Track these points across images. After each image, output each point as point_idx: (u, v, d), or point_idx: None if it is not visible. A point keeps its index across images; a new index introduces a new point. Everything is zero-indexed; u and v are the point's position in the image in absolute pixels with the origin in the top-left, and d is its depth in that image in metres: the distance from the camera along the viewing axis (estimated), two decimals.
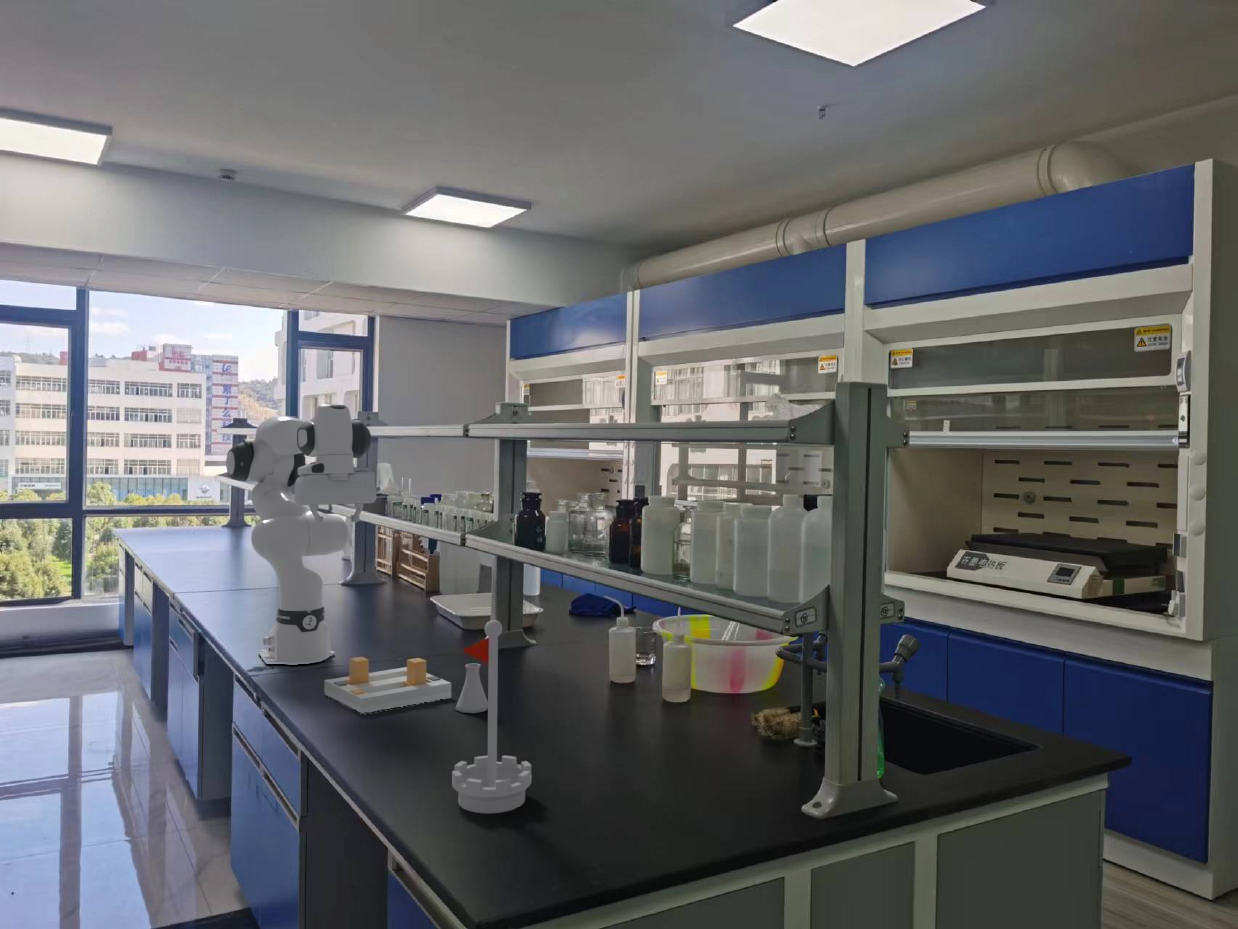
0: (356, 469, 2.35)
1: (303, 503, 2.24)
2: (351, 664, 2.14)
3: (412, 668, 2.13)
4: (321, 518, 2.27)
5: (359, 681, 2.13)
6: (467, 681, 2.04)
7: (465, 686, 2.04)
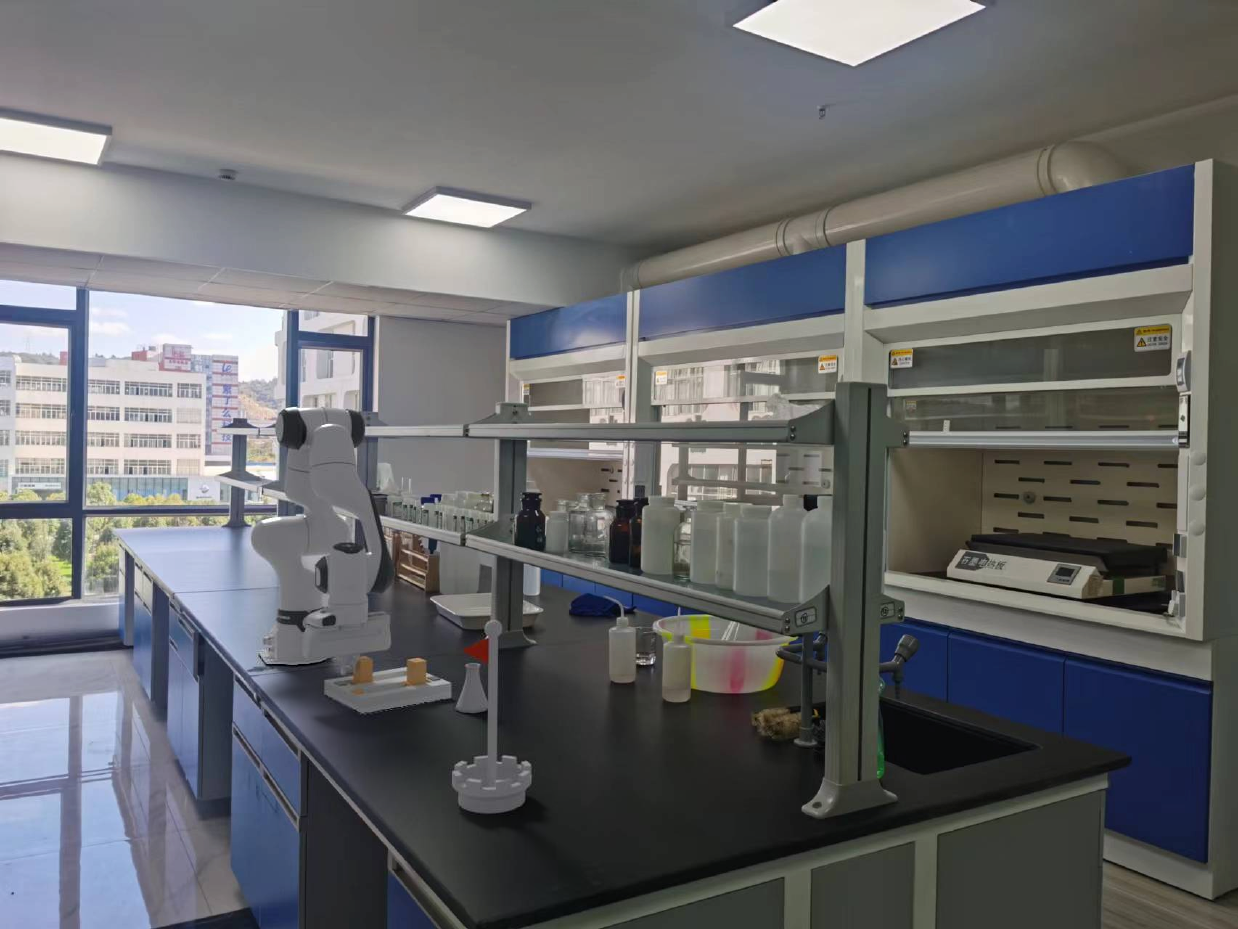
0: (370, 614, 2.16)
1: (311, 659, 2.06)
2: None
3: (412, 668, 2.13)
4: (347, 669, 2.12)
5: (363, 680, 2.14)
6: (467, 681, 2.04)
7: (465, 686, 2.04)
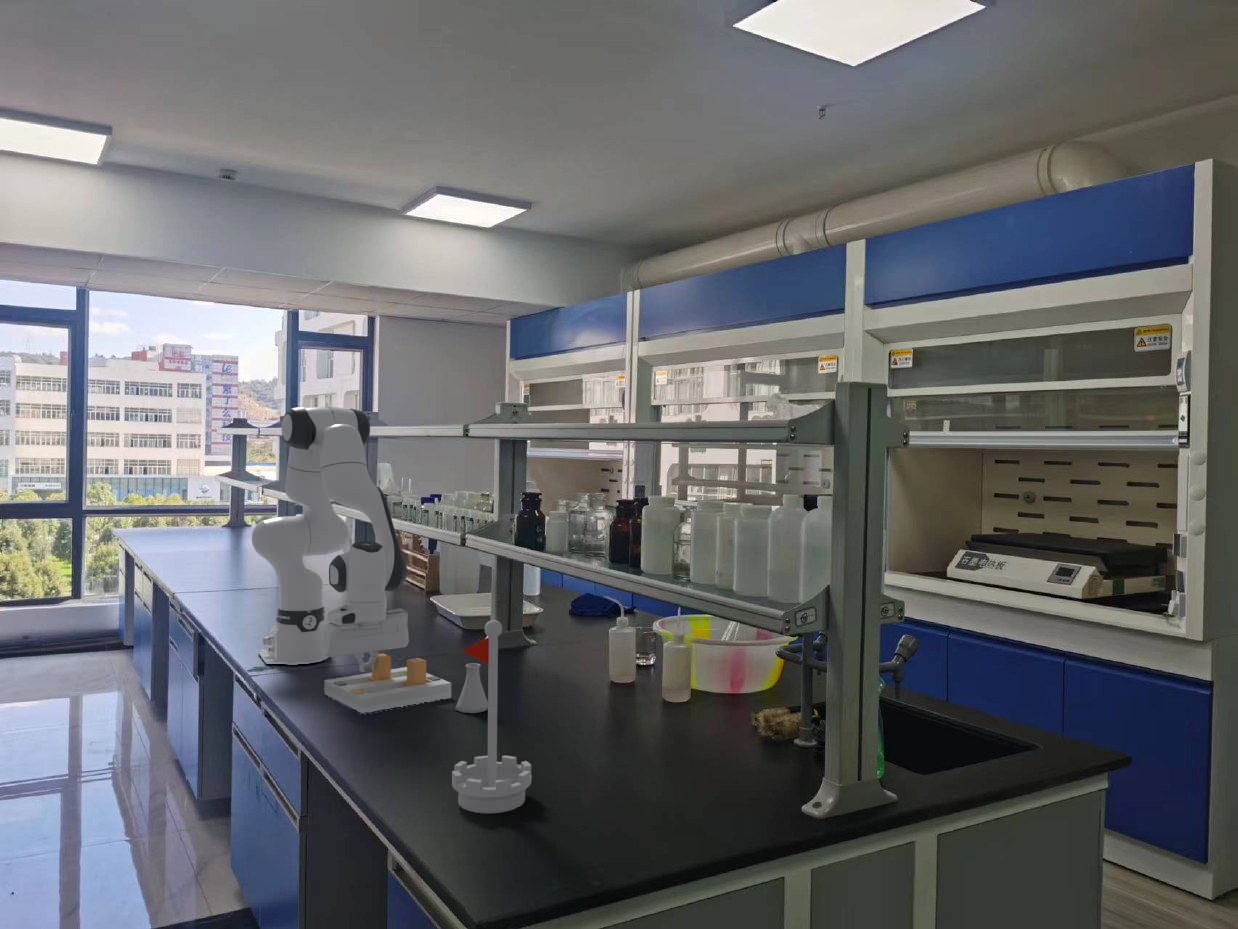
0: (388, 612, 2.19)
1: (331, 656, 2.09)
2: None
3: (412, 668, 2.13)
4: (366, 666, 2.15)
5: (381, 677, 2.17)
6: (467, 681, 2.04)
7: (465, 686, 2.04)
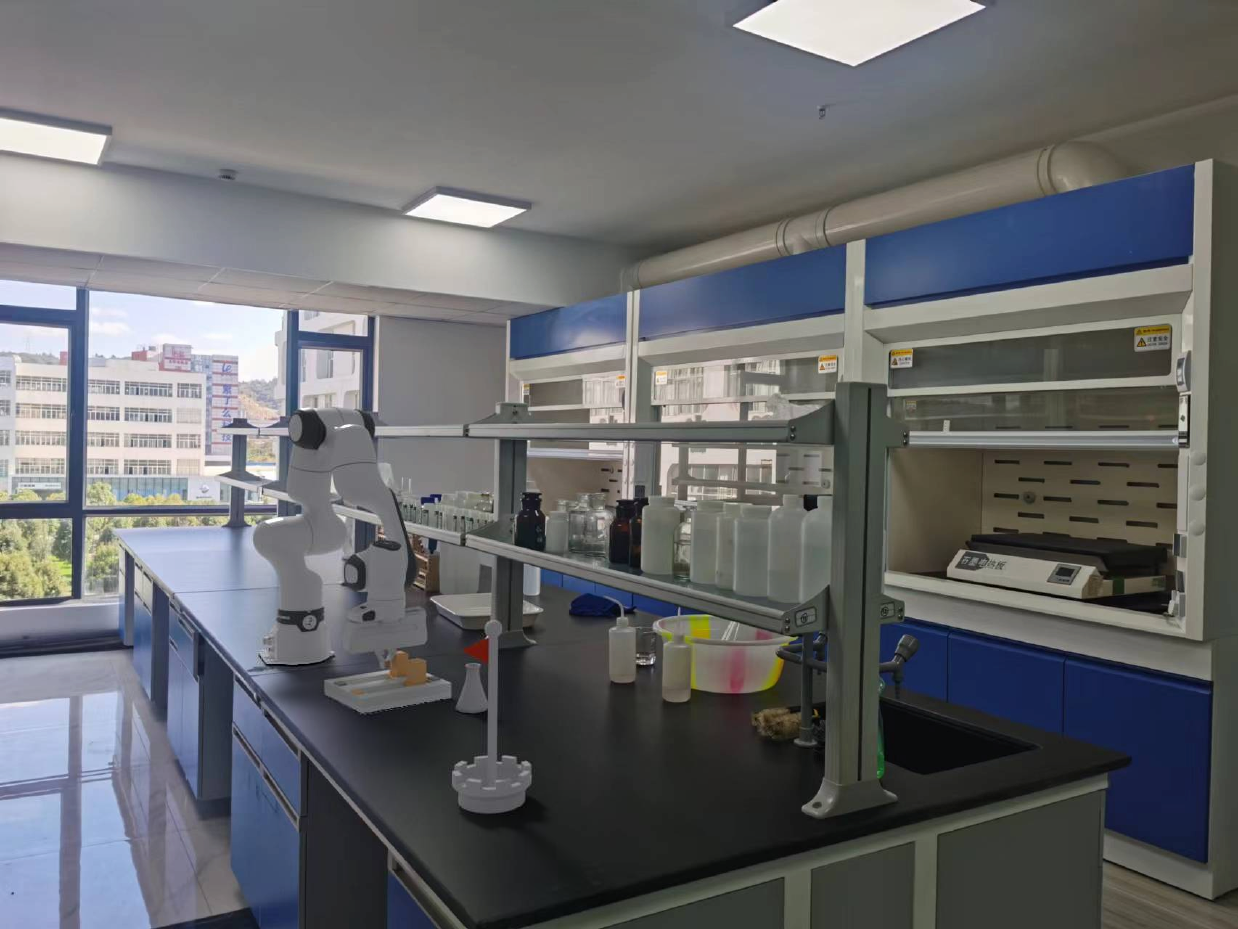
0: (407, 610, 2.22)
1: (352, 653, 2.12)
2: None
3: (412, 668, 2.13)
4: (386, 663, 2.18)
5: (399, 674, 2.19)
6: (467, 681, 2.04)
7: (465, 686, 2.04)
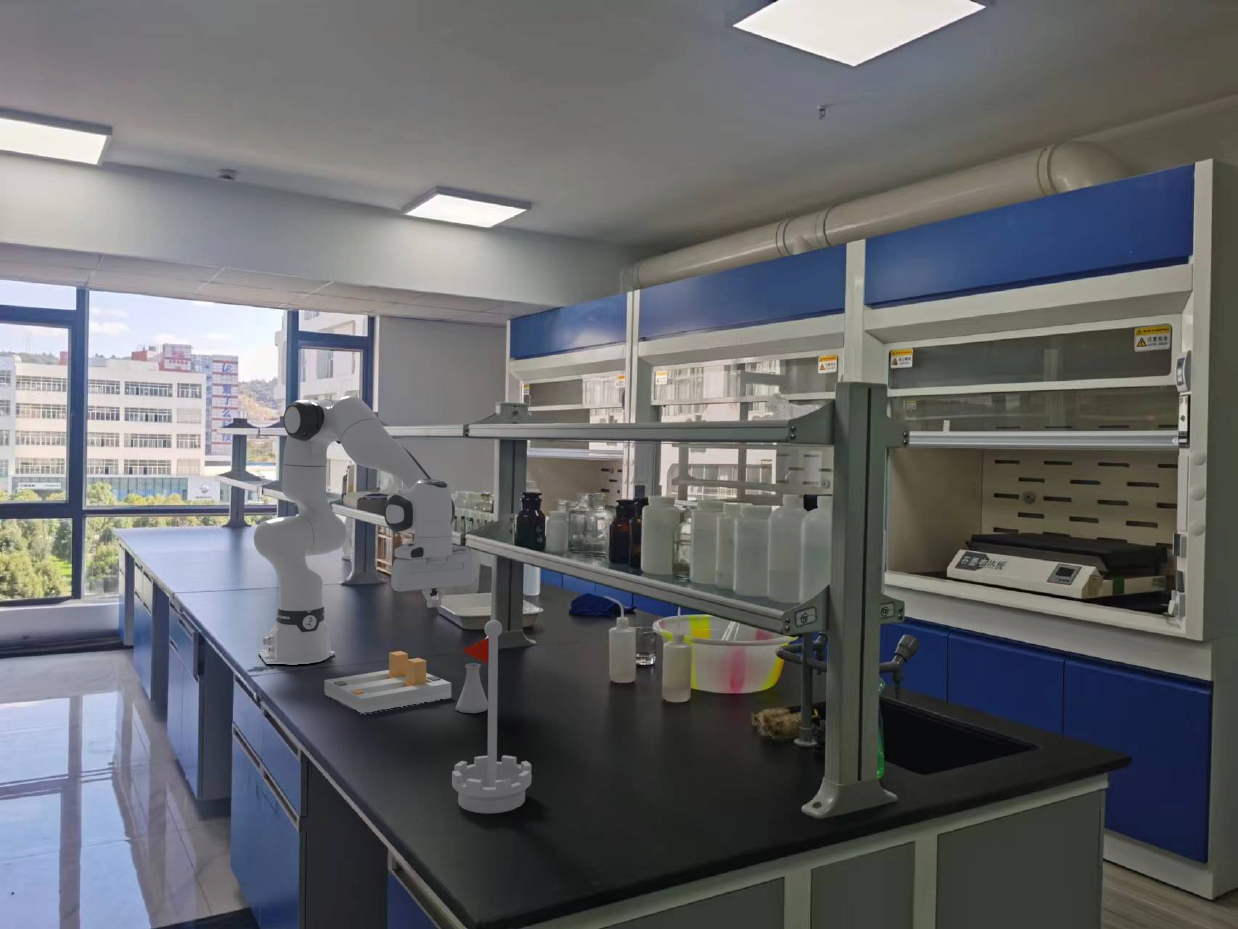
0: (454, 549, 2.21)
1: (401, 590, 2.10)
2: (391, 658, 2.21)
3: (412, 668, 2.13)
4: (434, 602, 2.17)
5: (399, 674, 2.19)
6: (467, 681, 2.04)
7: (465, 686, 2.04)
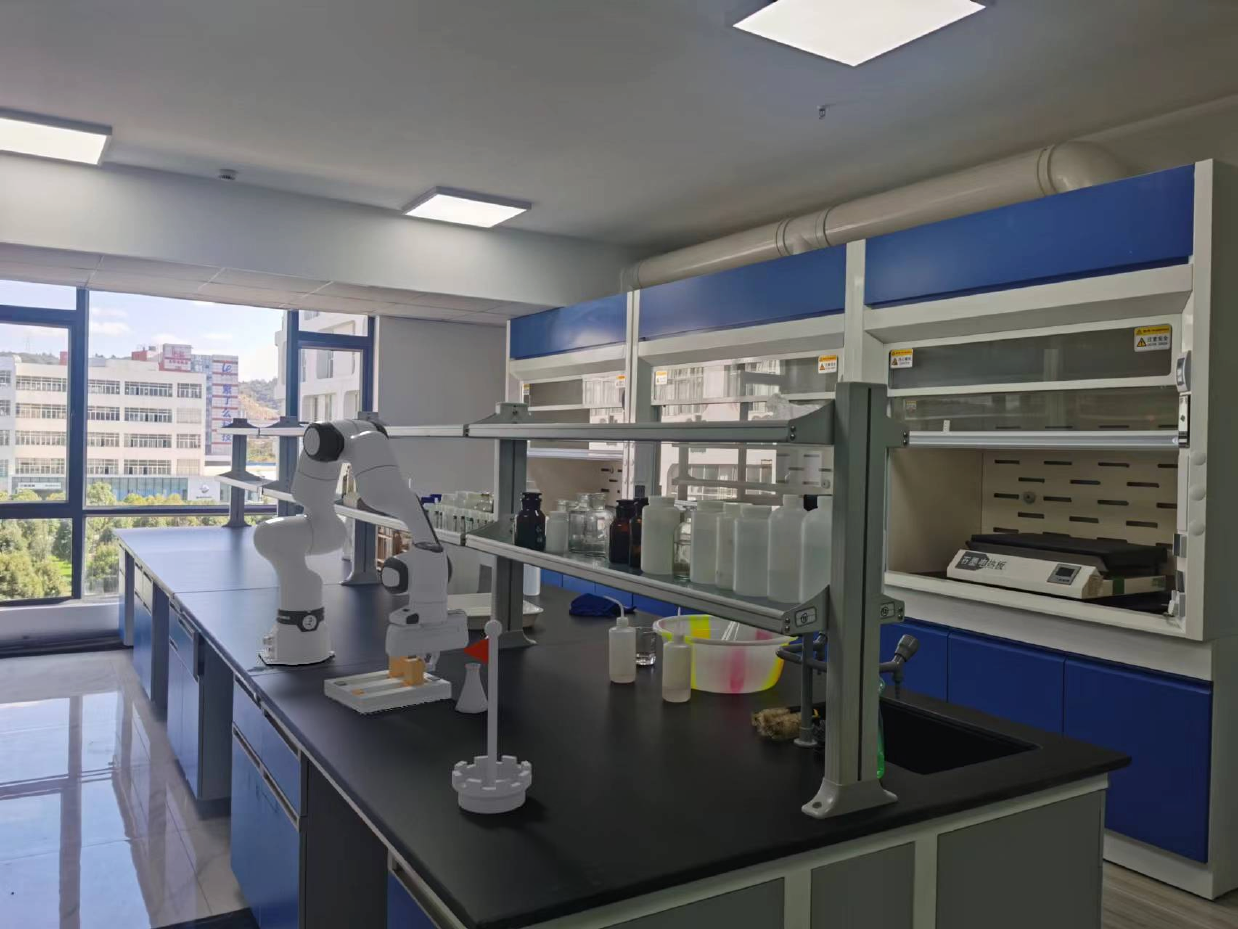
0: (449, 612, 2.19)
1: (395, 656, 2.09)
2: (391, 658, 2.21)
3: (409, 669, 2.12)
4: (428, 667, 2.15)
5: (399, 674, 2.19)
6: (467, 681, 2.04)
7: (465, 686, 2.04)
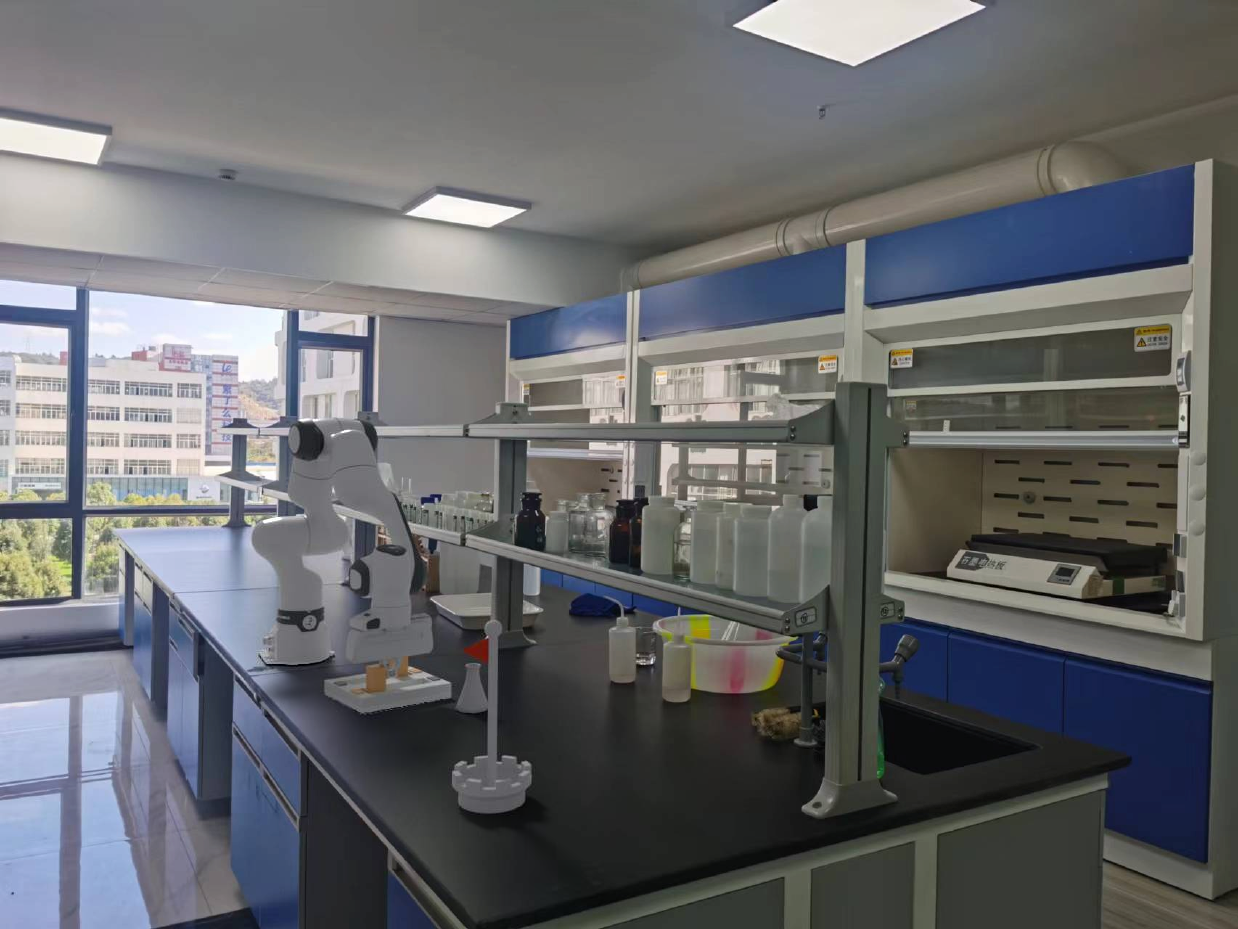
0: (413, 617, 2.13)
1: (356, 662, 2.03)
2: None
3: (371, 675, 2.06)
4: (391, 673, 2.09)
5: (399, 674, 2.19)
6: (467, 681, 2.04)
7: (465, 686, 2.04)
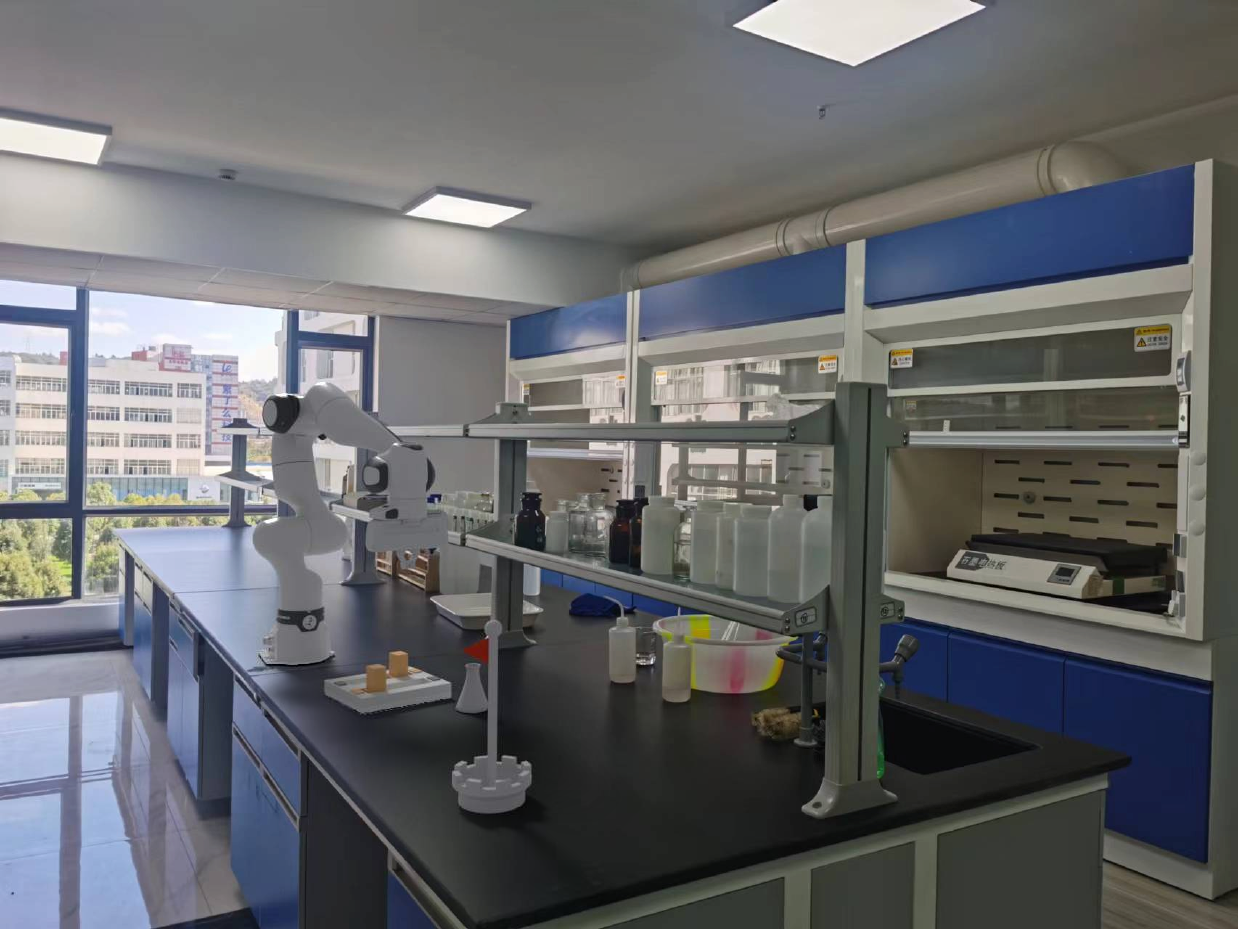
0: (429, 512, 2.22)
1: (375, 550, 2.12)
2: (391, 658, 2.21)
3: (371, 675, 2.06)
4: (408, 564, 2.19)
5: (399, 674, 2.19)
6: (467, 681, 2.04)
7: (465, 686, 2.04)
